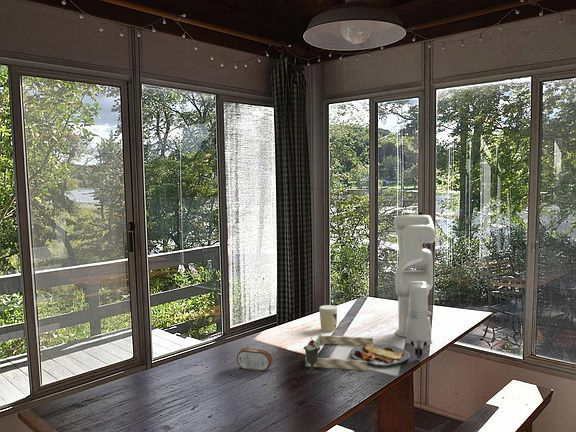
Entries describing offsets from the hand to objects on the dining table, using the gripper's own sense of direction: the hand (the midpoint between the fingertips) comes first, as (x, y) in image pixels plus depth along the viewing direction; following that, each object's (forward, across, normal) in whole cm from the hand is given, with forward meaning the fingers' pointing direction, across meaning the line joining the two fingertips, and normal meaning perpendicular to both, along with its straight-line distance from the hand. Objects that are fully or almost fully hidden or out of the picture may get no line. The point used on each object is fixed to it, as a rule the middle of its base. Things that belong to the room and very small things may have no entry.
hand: (418, 356), depth 205 cm
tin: (+2, +66, +23) cm, 69 cm away
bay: (+1, +33, 0) cm, 33 cm away
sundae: (+2, +42, +22) cm, 47 cm away
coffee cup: (+2, +44, -36) cm, 57 cm away
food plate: (+2, +16, 0) cm, 16 cm away
